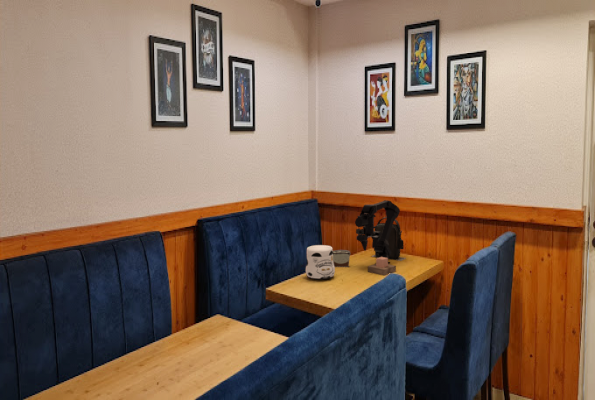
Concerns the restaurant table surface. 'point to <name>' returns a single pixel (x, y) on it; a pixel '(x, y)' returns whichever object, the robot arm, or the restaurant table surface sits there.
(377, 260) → the terracotta cube
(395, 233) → the shoulder bag
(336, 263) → the food container
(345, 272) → the restaurant table surface
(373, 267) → the walnut block
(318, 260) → the milk container
